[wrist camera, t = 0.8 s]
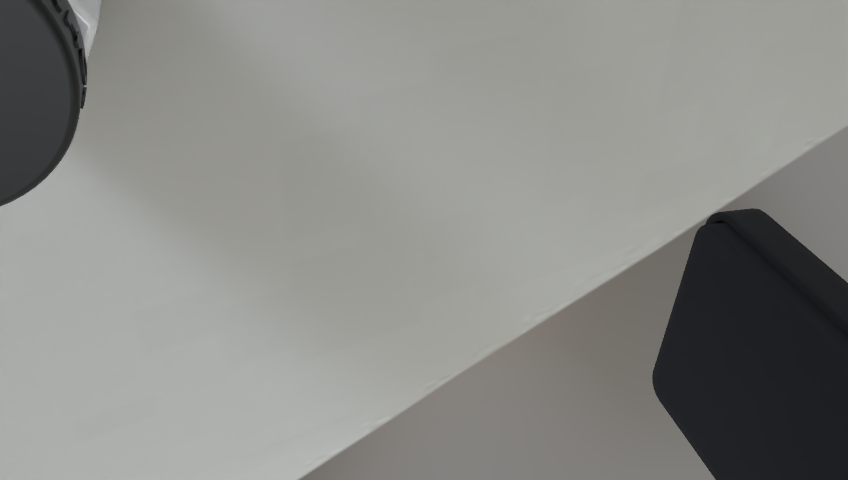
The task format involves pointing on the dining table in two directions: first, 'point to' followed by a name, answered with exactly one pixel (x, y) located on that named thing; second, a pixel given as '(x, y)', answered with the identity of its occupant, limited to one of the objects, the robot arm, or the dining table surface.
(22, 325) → the dining table surface
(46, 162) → the jar
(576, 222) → the dining table surface
